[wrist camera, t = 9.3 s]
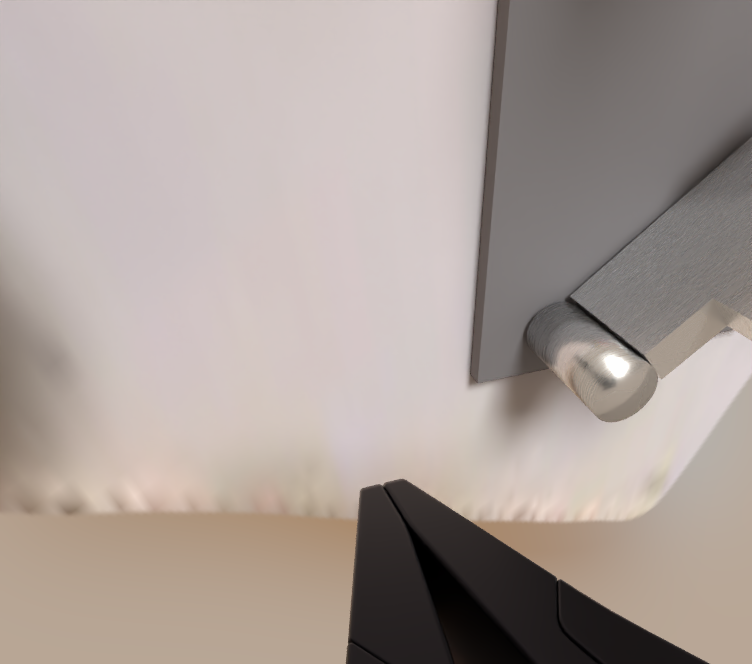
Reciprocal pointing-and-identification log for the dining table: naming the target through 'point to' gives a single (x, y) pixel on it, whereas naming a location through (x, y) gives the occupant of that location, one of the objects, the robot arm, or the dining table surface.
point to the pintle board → (595, 144)
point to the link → (657, 297)
